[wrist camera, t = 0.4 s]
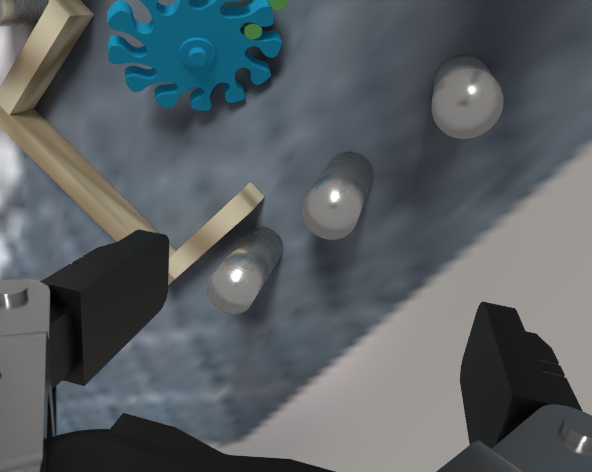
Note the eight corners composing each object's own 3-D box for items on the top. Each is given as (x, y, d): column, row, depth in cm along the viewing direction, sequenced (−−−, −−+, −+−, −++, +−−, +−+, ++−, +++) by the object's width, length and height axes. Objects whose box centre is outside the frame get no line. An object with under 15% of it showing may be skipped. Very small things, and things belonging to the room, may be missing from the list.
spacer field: (169, -330, 24) (79, -440, 18) (501, 85, 28) (518, 108, 22) (1, -1, 34) (-93, -1, 28) (264, 270, 38) (231, 321, 32)
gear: (177, 137, 34) (62, 37, 25) (170, 74, 36) (64, -36, 28) (323, 70, 31) (250, -70, 22) (305, 7, 33) (233, -141, 25)
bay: (77, -3, 33) (52, -4, 31) (264, 196, 36) (253, 209, 33) (11, 106, 38) (-15, 113, 36) (179, 273, 41) (164, 288, 39)
